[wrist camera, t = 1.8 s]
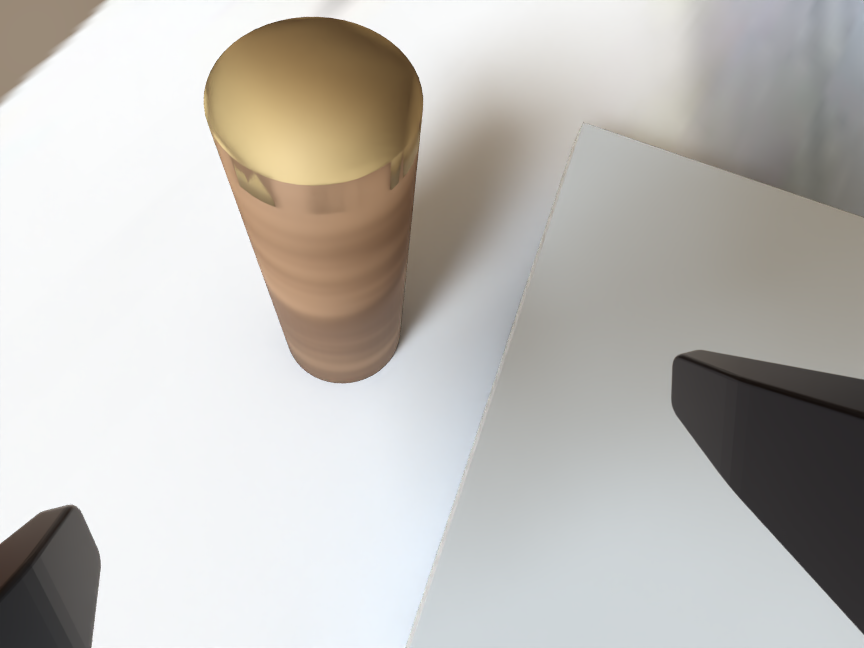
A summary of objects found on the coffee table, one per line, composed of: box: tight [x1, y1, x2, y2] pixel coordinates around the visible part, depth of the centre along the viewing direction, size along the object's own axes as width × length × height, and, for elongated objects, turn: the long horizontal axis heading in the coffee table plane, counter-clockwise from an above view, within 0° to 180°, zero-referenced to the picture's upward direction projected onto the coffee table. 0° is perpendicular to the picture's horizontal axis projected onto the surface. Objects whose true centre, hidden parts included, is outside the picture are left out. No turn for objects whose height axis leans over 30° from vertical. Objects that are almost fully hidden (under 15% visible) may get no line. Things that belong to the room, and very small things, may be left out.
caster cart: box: [406, 122, 864, 648], centre depth 21 cm, size 22×16×4 cm
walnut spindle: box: [204, 17, 423, 383], centre depth 18 cm, size 4×4×12 cm
